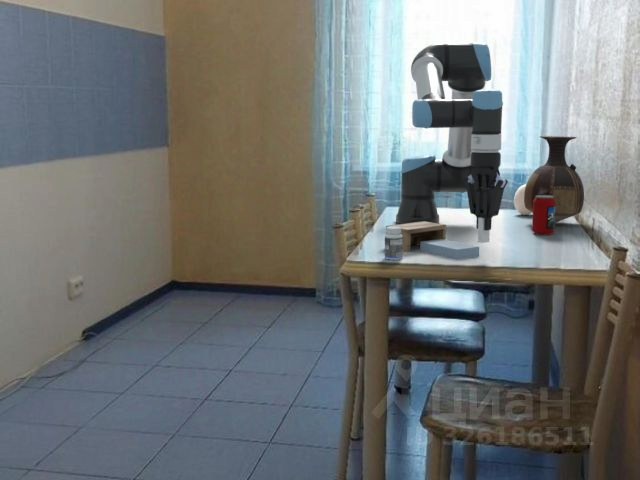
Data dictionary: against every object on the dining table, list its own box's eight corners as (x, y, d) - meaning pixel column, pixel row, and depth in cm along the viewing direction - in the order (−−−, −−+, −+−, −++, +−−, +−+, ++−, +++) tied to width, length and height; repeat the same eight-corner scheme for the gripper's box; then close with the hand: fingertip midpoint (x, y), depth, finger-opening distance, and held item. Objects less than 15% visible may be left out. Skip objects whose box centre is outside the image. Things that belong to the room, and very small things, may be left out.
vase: (546, 230, 245) (550, 137, 240) (507, 223, 263) (510, 135, 258) (599, 225, 255) (604, 135, 250) (559, 218, 272) (562, 134, 267)
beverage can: (555, 235, 236) (556, 197, 234) (532, 235, 237) (534, 197, 235) (553, 232, 242) (554, 194, 240) (531, 231, 244) (532, 194, 242)
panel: (420, 252, 213) (420, 241, 212) (441, 249, 217) (441, 238, 217) (456, 260, 200) (457, 249, 200) (479, 257, 205) (479, 246, 204)
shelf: (385, 247, 218) (386, 226, 217) (423, 241, 227) (423, 221, 226) (407, 251, 211) (407, 229, 210) (445, 245, 220) (445, 224, 219)
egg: (535, 217, 277) (536, 185, 275) (511, 215, 281) (512, 184, 279) (539, 214, 285) (540, 183, 283) (515, 212, 288) (516, 182, 286)
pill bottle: (383, 257, 204) (383, 226, 202) (400, 256, 204) (400, 225, 203) (386, 260, 199) (386, 228, 198) (403, 260, 200) (404, 228, 198)
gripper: (456, 151, 197) (454, 240, 201) (496, 152, 187) (493, 246, 191) (476, 150, 202) (474, 237, 206) (515, 151, 192) (512, 243, 195)
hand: (483, 242), depth 198 cm, fingers closed
